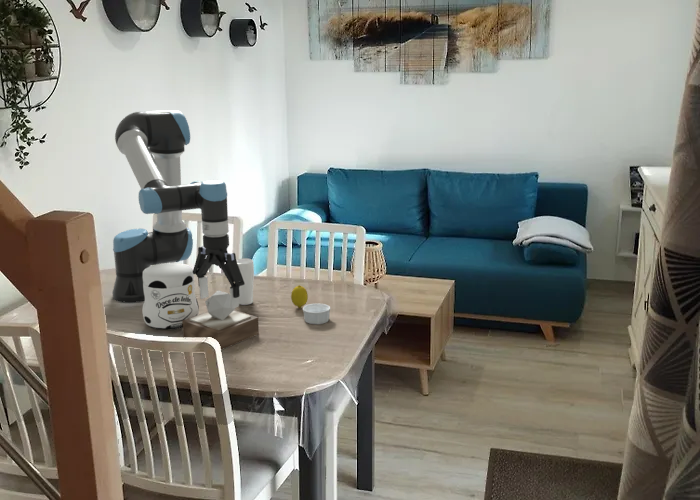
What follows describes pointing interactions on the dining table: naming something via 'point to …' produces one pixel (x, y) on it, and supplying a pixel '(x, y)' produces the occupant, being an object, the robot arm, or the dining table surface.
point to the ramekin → (316, 313)
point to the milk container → (168, 295)
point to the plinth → (222, 327)
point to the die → (219, 305)
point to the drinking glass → (246, 281)
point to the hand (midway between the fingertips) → (219, 302)
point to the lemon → (299, 296)
